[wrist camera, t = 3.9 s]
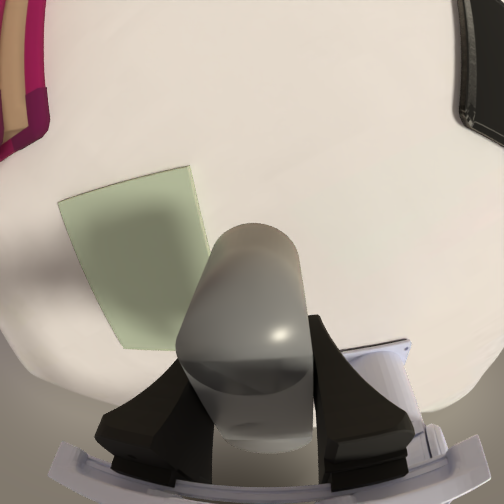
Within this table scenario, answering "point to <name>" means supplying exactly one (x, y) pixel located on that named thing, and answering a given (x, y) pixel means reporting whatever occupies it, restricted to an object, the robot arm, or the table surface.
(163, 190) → the sage mat
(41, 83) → the book
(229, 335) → the cylinder
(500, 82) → the phone
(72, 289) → the table surface
